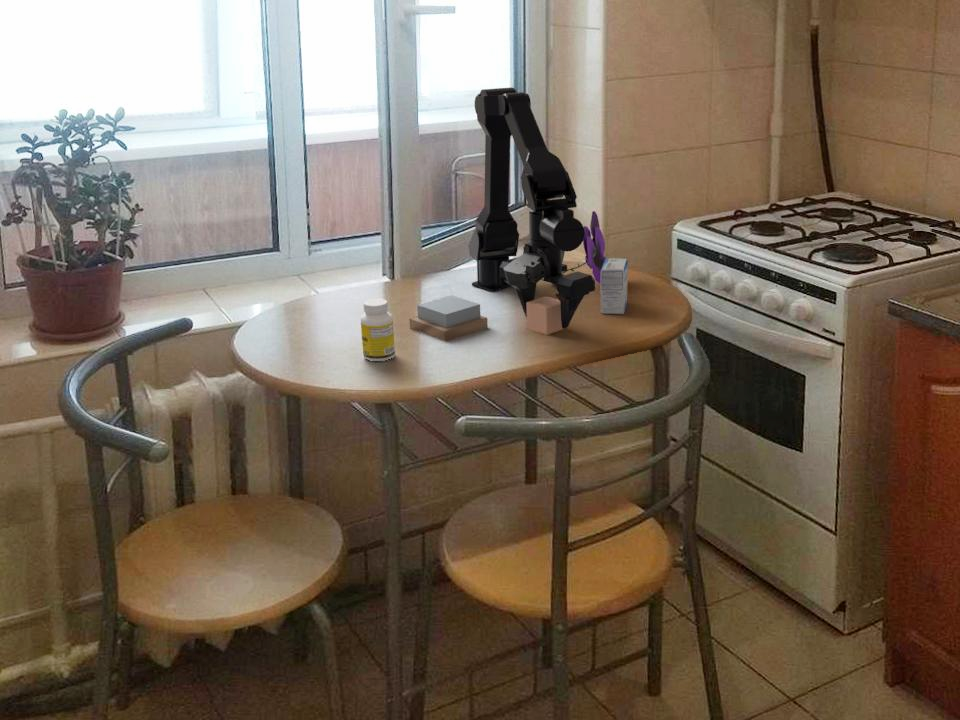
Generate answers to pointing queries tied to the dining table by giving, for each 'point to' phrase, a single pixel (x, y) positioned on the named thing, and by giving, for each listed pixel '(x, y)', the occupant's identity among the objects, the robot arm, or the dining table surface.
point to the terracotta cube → (544, 315)
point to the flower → (593, 248)
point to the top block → (448, 311)
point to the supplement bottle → (377, 331)
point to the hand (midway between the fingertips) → (546, 322)
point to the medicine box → (614, 286)
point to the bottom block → (450, 331)
